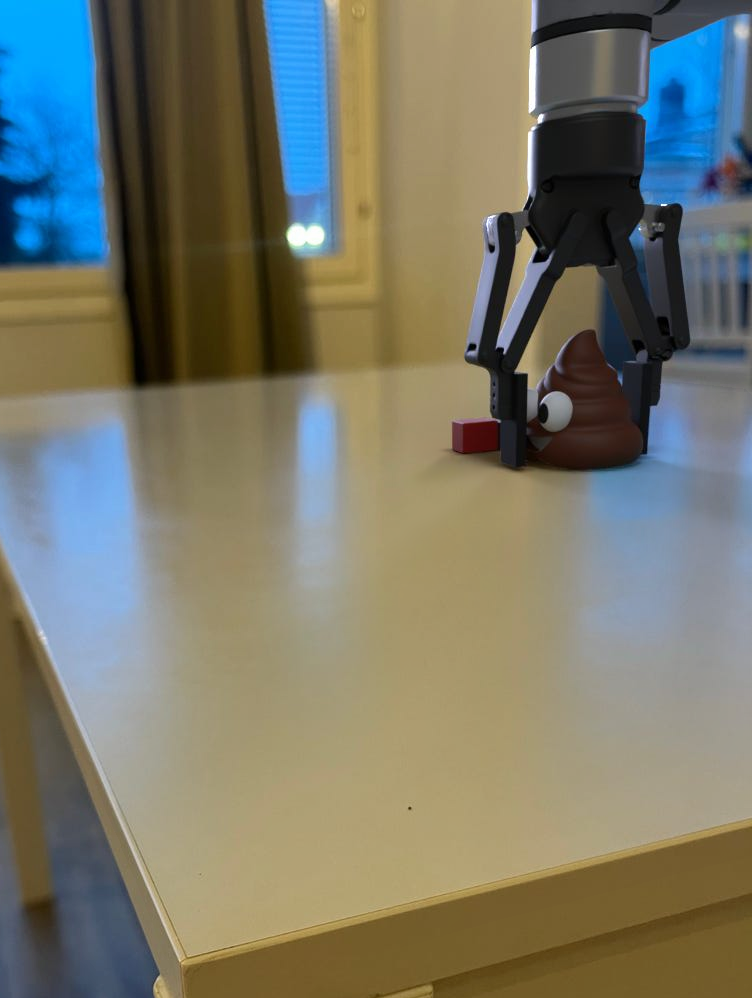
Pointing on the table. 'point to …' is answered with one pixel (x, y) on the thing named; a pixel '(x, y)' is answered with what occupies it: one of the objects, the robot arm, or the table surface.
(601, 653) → the table surface
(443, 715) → the table surface
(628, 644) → the table surface
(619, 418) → the poop emoji
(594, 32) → the robot arm
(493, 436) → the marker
